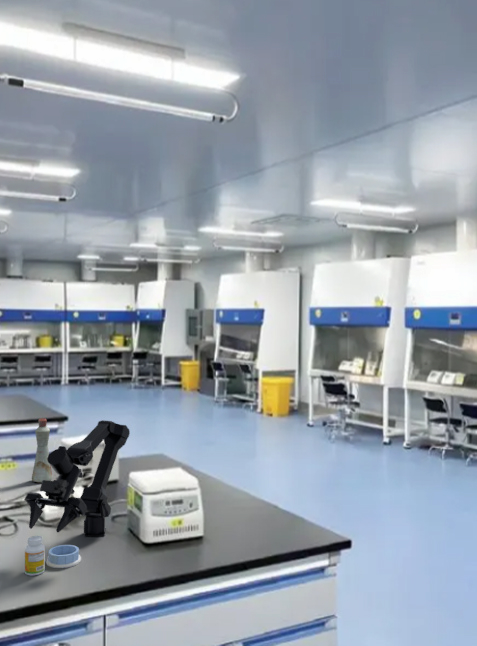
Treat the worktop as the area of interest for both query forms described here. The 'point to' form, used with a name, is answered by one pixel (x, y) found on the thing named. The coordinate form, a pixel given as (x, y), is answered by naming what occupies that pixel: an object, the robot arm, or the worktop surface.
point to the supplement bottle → (34, 556)
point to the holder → (63, 556)
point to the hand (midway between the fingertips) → (43, 529)
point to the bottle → (42, 454)
